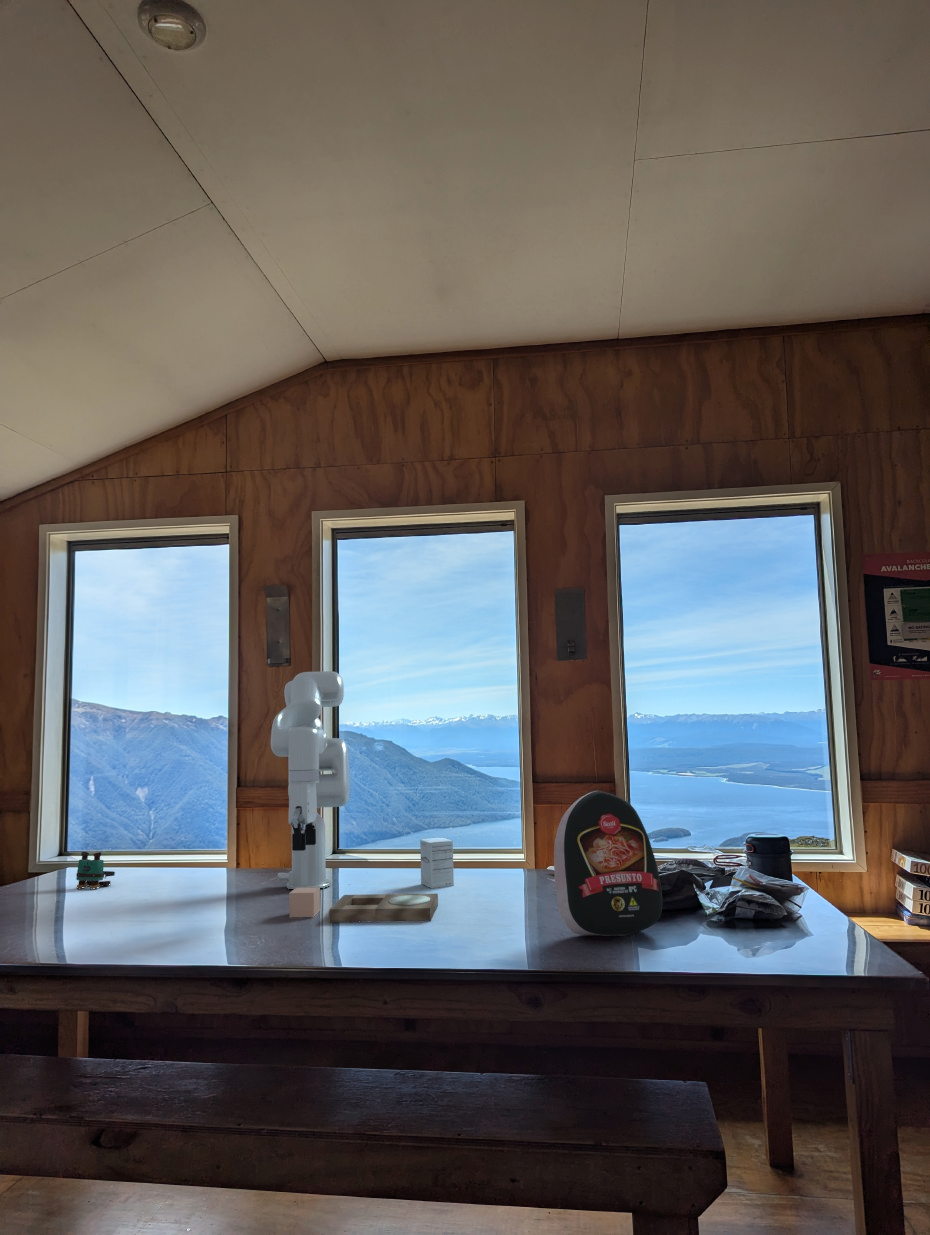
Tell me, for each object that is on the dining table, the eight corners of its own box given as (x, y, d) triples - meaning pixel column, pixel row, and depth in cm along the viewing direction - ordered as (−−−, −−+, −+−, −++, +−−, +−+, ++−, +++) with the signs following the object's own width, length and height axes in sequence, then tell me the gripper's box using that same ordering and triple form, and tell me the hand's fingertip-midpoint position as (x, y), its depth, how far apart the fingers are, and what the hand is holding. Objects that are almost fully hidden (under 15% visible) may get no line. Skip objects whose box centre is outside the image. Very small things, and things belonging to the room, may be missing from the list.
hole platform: (329, 922, 200) (329, 908, 200) (344, 906, 216) (344, 893, 216) (430, 921, 198) (430, 906, 199) (438, 905, 214) (437, 892, 215)
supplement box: (420, 884, 242) (419, 839, 243) (444, 881, 245) (443, 836, 246) (430, 888, 235) (429, 842, 237) (454, 885, 238) (453, 839, 240)
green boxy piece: (121, 850, 258) (98, 852, 248) (118, 887, 256) (94, 890, 246) (96, 850, 260) (73, 852, 251) (93, 886, 258) (69, 889, 249)
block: (289, 918, 206) (289, 893, 207) (296, 912, 212) (296, 887, 212) (313, 918, 205) (313, 892, 206) (320, 912, 211) (319, 887, 212)
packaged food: (579, 951, 170) (572, 799, 174) (544, 928, 189) (539, 791, 192) (676, 940, 176) (668, 793, 179) (633, 919, 195) (627, 786, 198)
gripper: (298, 775, 221) (299, 843, 219) (278, 779, 204) (279, 853, 202) (326, 775, 220) (327, 842, 218) (309, 779, 203) (310, 852, 201)
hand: (304, 847), depth 210 cm, fingers open, 9 cm apart
